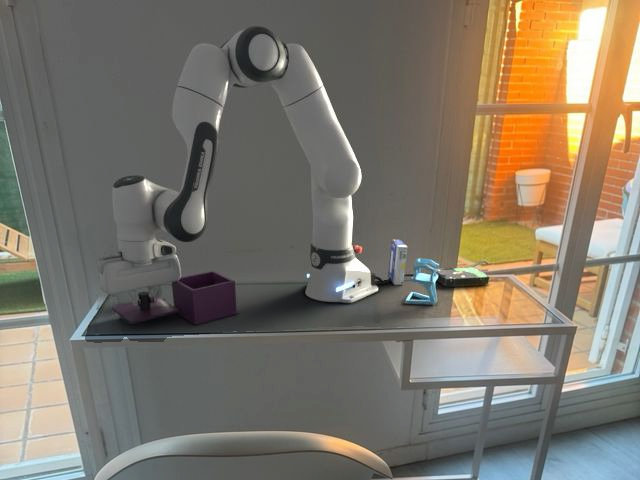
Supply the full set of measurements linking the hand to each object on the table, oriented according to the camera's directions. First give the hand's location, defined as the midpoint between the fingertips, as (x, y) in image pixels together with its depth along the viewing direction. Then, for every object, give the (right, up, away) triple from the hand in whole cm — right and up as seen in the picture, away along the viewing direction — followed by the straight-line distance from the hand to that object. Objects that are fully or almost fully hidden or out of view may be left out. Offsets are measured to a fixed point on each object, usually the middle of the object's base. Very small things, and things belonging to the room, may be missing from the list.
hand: (144, 303), depth 149 cm
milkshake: (-1, +4, +14) cm, 15 cm away
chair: (+74, +5, +21) cm, 77 cm away
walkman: (+68, +14, +36) cm, 78 cm away
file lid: (0, -2, +1) cm, 2 cm away
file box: (+14, -1, +8) cm, 16 cm away
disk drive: (+89, +15, +38) cm, 98 cm away
